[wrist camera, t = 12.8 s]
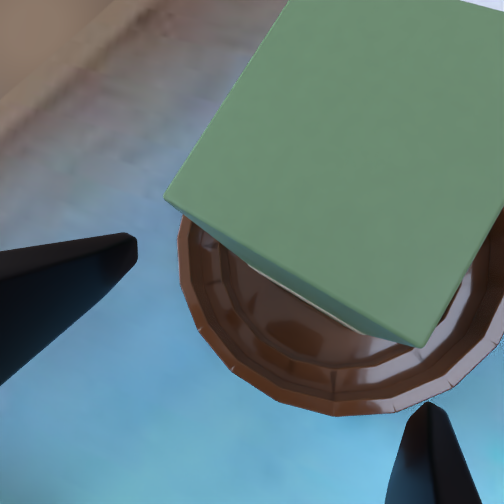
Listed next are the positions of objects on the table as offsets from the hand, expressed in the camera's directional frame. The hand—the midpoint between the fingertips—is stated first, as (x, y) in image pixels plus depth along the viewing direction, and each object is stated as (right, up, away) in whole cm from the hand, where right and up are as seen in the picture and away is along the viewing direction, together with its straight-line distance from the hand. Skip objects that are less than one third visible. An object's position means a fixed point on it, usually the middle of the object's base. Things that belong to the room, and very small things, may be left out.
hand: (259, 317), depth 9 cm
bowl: (+4, +2, +10) cm, 11 cm away
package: (+5, +1, +9) cm, 10 cm away
